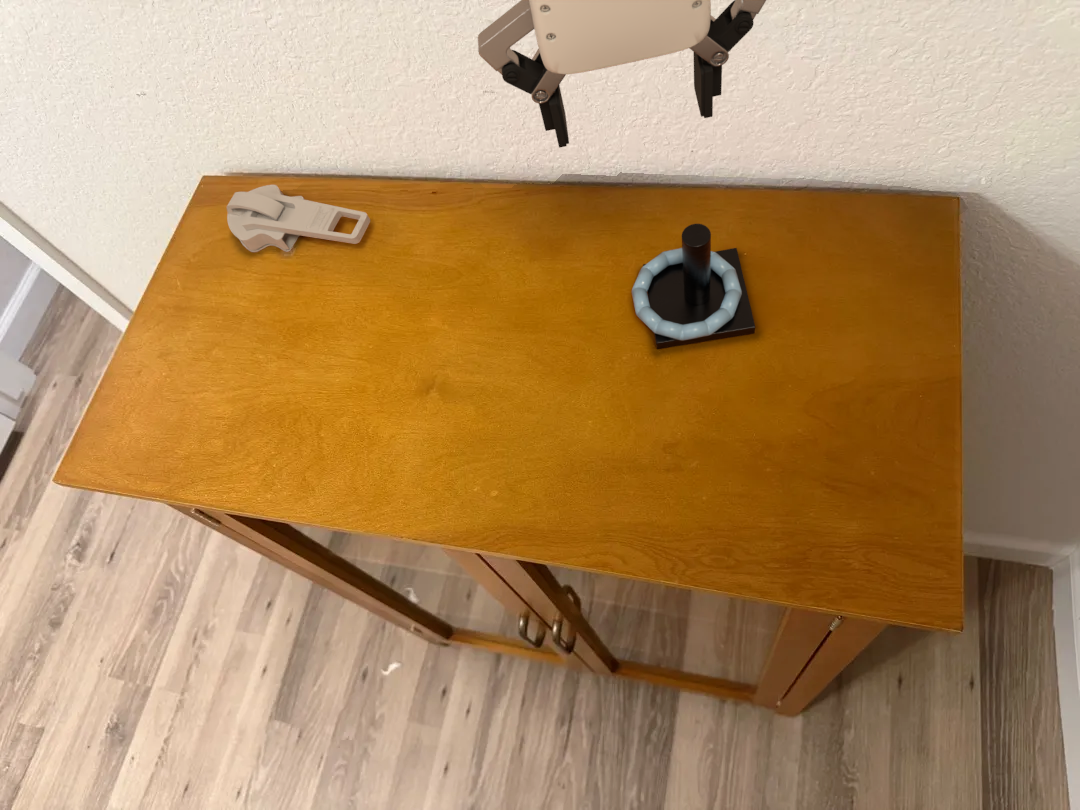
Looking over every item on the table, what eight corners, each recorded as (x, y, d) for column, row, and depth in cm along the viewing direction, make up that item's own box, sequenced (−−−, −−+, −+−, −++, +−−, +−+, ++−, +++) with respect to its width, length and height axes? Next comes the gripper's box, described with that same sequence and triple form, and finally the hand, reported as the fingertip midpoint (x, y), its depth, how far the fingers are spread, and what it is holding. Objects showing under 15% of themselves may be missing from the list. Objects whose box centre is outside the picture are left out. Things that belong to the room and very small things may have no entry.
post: (736, 254, 75) (740, 183, 66) (754, 333, 71) (762, 269, 62) (643, 271, 76) (635, 203, 67) (656, 349, 72) (649, 288, 63)
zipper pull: (358, 273, 83) (341, 249, 79) (224, 246, 88) (202, 222, 84) (387, 215, 86) (372, 189, 82) (255, 192, 91) (236, 167, 87)
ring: (727, 244, 74) (727, 235, 73) (750, 330, 70) (751, 322, 68) (626, 265, 75) (624, 256, 74) (643, 351, 71) (642, 343, 70)
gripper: (768, -238, 38) (750, 52, 53) (429, -150, 40) (505, 104, 55) (803, -151, 34) (773, 132, 50) (431, -60, 37) (511, 184, 52)
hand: (631, 117), depth 52 cm, fingers open, 9 cm apart
